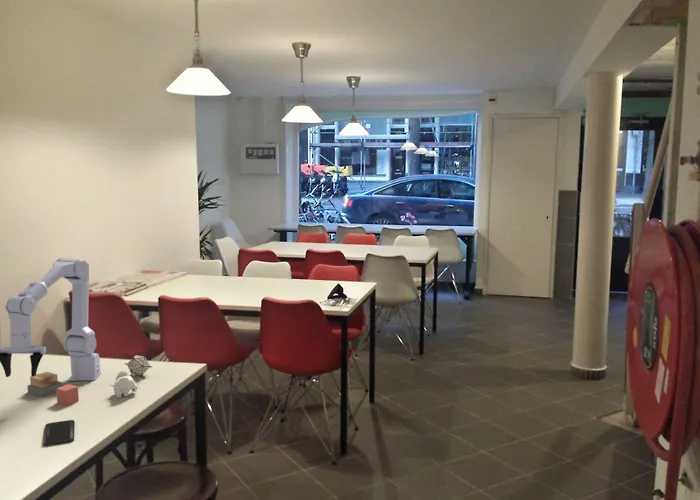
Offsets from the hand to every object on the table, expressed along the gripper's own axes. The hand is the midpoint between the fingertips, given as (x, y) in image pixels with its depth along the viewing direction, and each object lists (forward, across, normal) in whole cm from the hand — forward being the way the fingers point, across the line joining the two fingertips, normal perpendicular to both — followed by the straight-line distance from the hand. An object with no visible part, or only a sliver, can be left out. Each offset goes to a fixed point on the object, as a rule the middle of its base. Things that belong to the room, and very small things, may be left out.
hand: (21, 375), depth 199 cm
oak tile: (+6, +3, +13) cm, 15 cm away
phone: (+12, +19, -23) cm, 32 cm away
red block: (+9, +14, +2) cm, 17 cm away
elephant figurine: (+9, +31, +6) cm, 33 cm away
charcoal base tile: (+9, +3, +14) cm, 17 cm away
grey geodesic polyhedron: (+7, +31, +25) cm, 41 cm away
